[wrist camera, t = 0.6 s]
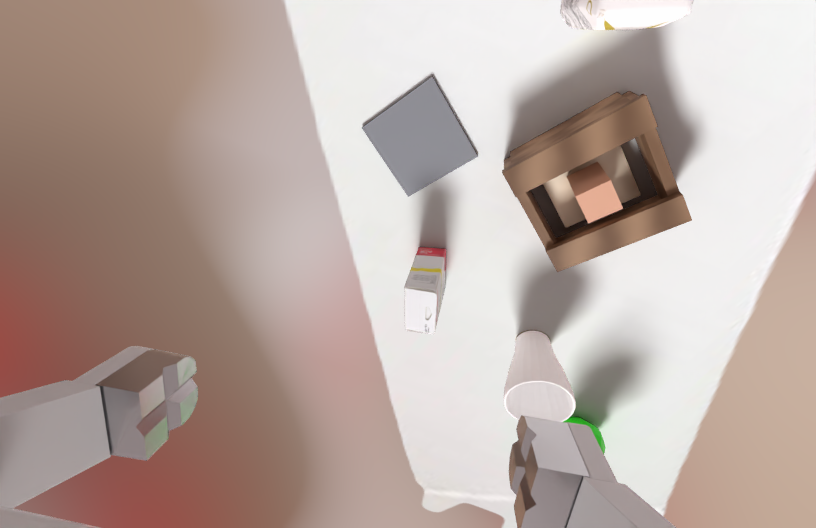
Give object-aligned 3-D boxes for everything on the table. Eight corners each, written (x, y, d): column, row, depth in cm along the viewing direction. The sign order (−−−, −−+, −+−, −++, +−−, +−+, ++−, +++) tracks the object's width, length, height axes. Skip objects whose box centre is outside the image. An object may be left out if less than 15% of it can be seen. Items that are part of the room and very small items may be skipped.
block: (597, 161, 49) (610, 180, 43) (608, 187, 50) (623, 208, 44) (566, 176, 50) (575, 196, 45) (578, 201, 52) (588, 223, 46)
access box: (627, 86, 45) (646, 95, 40) (670, 198, 51) (692, 220, 45) (502, 156, 53) (502, 172, 47) (551, 247, 58) (557, 272, 53)
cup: (558, 316, 65) (570, 377, 54) (567, 360, 69) (580, 424, 58) (496, 325, 68) (496, 383, 57) (509, 366, 73) (511, 427, 62)
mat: (432, 76, 49) (432, 76, 49) (477, 155, 53) (477, 156, 53) (362, 127, 54) (361, 127, 54) (408, 195, 59) (408, 196, 58)
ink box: (417, 245, 63) (402, 286, 53) (447, 248, 62) (437, 290, 52) (417, 287, 68) (403, 331, 58) (445, 290, 67) (435, 336, 57)
